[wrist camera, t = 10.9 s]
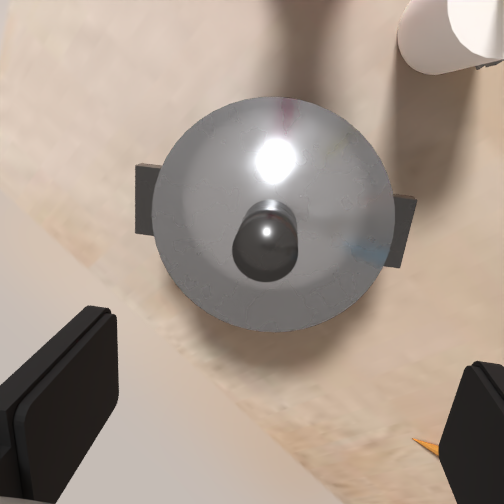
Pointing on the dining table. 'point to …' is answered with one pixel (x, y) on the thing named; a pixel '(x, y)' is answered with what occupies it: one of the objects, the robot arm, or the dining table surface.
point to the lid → (273, 214)
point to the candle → (451, 34)
